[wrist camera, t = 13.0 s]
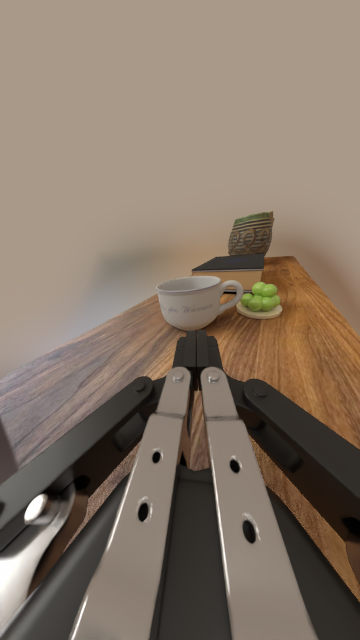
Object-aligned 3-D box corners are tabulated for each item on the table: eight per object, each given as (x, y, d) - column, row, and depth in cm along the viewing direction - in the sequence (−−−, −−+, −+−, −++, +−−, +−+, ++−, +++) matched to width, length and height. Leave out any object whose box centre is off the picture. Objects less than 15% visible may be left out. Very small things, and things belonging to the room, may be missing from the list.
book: (193, 292, 40) (191, 269, 37) (215, 273, 58) (215, 257, 55) (258, 296, 32) (263, 267, 29) (261, 272, 50) (264, 253, 47)
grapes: (250, 322, 23) (255, 292, 20) (229, 305, 30) (230, 281, 27) (292, 314, 24) (303, 284, 21) (262, 299, 30) (266, 275, 28)
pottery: (222, 268, 65) (224, 218, 55) (232, 262, 77) (235, 220, 67) (264, 268, 56) (275, 207, 46) (268, 261, 68) (278, 211, 58)
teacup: (152, 331, 24) (141, 289, 20) (180, 307, 32) (175, 273, 28) (233, 350, 18) (239, 294, 14) (242, 313, 26) (247, 271, 22)
